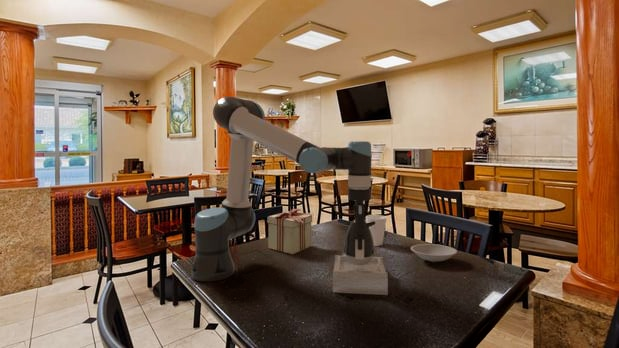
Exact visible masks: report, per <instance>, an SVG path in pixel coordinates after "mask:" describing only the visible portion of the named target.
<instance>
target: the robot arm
mask: <svg viewBox="0 0 619 348" xmlns="http://www.w3.org/2000/svg"><path fill="white" fill-rule="evenodd" d="M212 115H213V119H214V121H215V122H216V124H217V125H218V126H219V127H220V128H222V129H224V130H226V131H227V135H228V136H229V137H230V148H229V160H228V161H229V162H228V175H227V184H226V185H227V186H226V187H227V189H226V198H225V199H224V200H223V201H222V202H221V207H212V208H206V209H203V210H201V211H199V212H197V214H196V215H195V217H194V224H193V226H194V237H195V239H194V240H195V241H194V242H195V256H194V260H193V263H192V267H191V278H192V279H193V280H195V281H198V282H204V283H205V282H206V283H207V282H218V281H221V280H225V279H227V278H230V277H231V276H232V275H233V274H234V273H235V263H234V261H233V258H232V255H231V253H230V240H233V239H235V238H237V237H239V236H243V235H246V233H248V232H250V231H251V230H252V229H253V227H254V226H255V224H256V213H255V211H254V209H253V208H252V205H253V204H252V202H251V201H250V200H249V193H250V185H251V184H250V183H251V175H252V174H251V172H252V162H253V153H254V152H253V151H254V142H256V143H257V144H259V145H262V146H263V147H265V148H268V149H269V150H271V151H273V152H275V153H277V154H279V155H281V156H283V157H285V158H286V159H288V160H291V161H293V162H294V163H296V164H299V166H300V168H301V169H302V170H303V171H304V172H306V173H311V174H319V173H321V172H326V171H332V170H334V171H335V170H336V171H337V170H341V171H342V170H344V171H346V170H348V171H347V173H348V175H347V186H348V190H347V194H348V195H347V198H348V200H349V201H353V202H354V203H355V204H353V214H354V220H355V219H356V237H354V239H356V244H355V259H364V238H365V237H364V220H366V212H367V211H366V210H367V209H366V207H367V206H366V204H364V202H367V201H370V200H371V199H372V189H371V187H372V181H374V178H373V177H372V157H373V154H372V144H371V142H370V141H366V140H365V141H361V140H360V141H359V140H358V141H349V142H348V145H347V147H328V146H327V147H326V146H325V147H324V146H322V147H320V146H318V145H316V144H314V143H312V142H309V141H307V140H305V139H304V138H302V137H299V136H297V135H295V134H293V133H290V132H288V131H287V130H285V129H283V128H281V127H279V126H276V125H275V124H273V123H271V122H269V121H267V120H266V114H265V111H264V108H262V106H261V105H260V104H259V103H258V102H255V101H252V100H249V99H243V98H239V97H236V96H235V97H234V96H225V97H221V98H220V99H218V100H217V101H216V102H215V104H214V106H213V110H212Z"/></svg>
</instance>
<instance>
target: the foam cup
mask: <svg viewBox="0 0 619 348" xmlns="http://www.w3.org/2000/svg"><path fill="white" fill-rule="evenodd" d="M365 221H366V223H370V222H373V221H375V225H372V226H370V227H369V228H370V231H371V234H372V237H373V242H374V247H380V246H379V245H381V246H383V243H384V237H385V231H386V228H385V227H386V223H387V216H385V215H380V214H379V215H378V214H368V215H365Z"/></svg>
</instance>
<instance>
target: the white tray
mask: <svg viewBox="0 0 619 348" xmlns="http://www.w3.org/2000/svg"><path fill="white" fill-rule="evenodd" d="M388 276H389V275H388V272H386V268H385V265H384V257H383V256H376V254H375V253H374V255H373V257H372V259H371V261H370V262H369V263H367V264H365V265H354V264H352V263H350V262H349V261H348V260H347V258H346V256H345V253H344V252H342V253H341V255H339V254H338V255H336V254H335V255H334V265H333V270H332V293H341V294H356V295H358V294H360V295H361V294H363V295H378V296H380V295H382V296H388V294H389V282H388V281H389V279H388Z"/></svg>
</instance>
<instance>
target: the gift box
mask: <svg viewBox="0 0 619 348" xmlns="http://www.w3.org/2000/svg"><path fill="white" fill-rule="evenodd" d="M299 211H301V208H300V209H299V208H292V209H291V210H289V211H284V212H281V213H276V214H273V215H268V216H267V220H266V222H267V224H268V230H267V231H268V237H267V238H268V245H267V246H268V249H271V250H274V251H278V252H282V253H285V254H286V253H287V254H289V255H295V254H297V253H298V252H301V251H304V250H305V249H308V248H310V247H312V223H313V214H310V213H306V212H304V213H303V212H299Z"/></svg>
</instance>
